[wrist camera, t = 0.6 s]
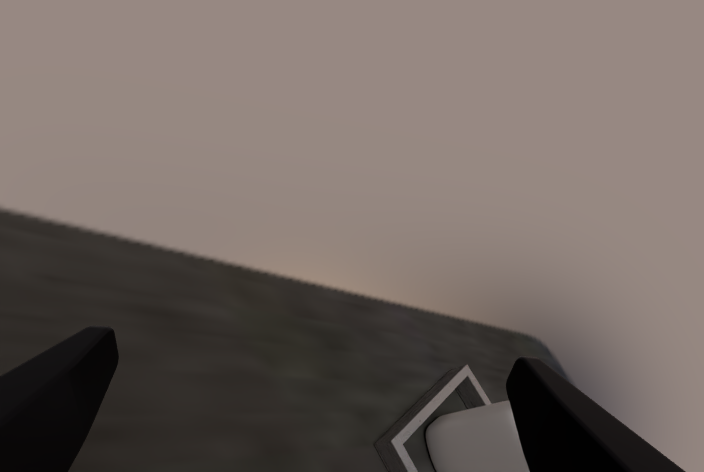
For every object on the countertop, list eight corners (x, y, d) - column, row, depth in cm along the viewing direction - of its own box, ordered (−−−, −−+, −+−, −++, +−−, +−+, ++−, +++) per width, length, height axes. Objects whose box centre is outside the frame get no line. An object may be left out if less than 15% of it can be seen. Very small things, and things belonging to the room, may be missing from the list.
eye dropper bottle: (463, 417, 29) (626, 382, 21) (481, 507, 26) (679, 509, 18) (420, 415, 27) (581, 376, 19) (433, 513, 24) (633, 518, 16)
